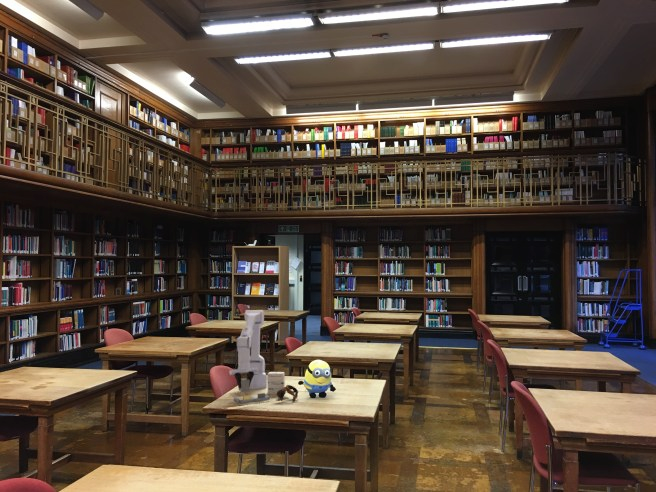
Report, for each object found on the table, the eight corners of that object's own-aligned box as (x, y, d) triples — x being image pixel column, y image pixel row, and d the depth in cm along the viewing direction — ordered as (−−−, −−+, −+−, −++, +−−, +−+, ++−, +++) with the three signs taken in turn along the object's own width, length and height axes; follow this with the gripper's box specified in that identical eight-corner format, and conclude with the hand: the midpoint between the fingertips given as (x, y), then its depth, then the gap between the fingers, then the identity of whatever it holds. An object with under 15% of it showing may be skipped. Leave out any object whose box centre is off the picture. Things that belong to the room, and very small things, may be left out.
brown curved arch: (284, 397, 262) (292, 383, 262) (295, 408, 256) (303, 394, 256) (269, 395, 253) (277, 382, 253) (280, 407, 247) (288, 393, 246)
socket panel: (264, 397, 259) (264, 393, 259) (269, 401, 251) (269, 396, 252) (233, 401, 251) (233, 397, 251) (238, 405, 244) (238, 400, 244)
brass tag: (250, 398, 248) (250, 394, 248) (250, 399, 247) (250, 395, 247) (243, 399, 246) (243, 395, 246) (243, 400, 245) (243, 396, 245)
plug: (246, 388, 254) (246, 377, 254) (249, 391, 250) (249, 379, 250) (238, 389, 252) (238, 378, 252) (241, 392, 248) (241, 380, 248)
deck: (244, 393, 267) (244, 391, 267) (248, 397, 260) (248, 395, 260) (229, 395, 263) (229, 393, 263) (233, 399, 256) (233, 397, 256)
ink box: (285, 393, 267) (285, 371, 267) (283, 396, 262) (283, 373, 262) (269, 393, 267) (269, 371, 268) (267, 395, 263) (267, 373, 263)
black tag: (264, 396, 251) (264, 392, 251) (265, 397, 251) (265, 393, 251) (257, 397, 250) (257, 393, 250) (258, 398, 249) (258, 394, 249)
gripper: (232, 363, 244) (232, 391, 244) (260, 360, 251) (260, 387, 251) (228, 360, 251) (228, 388, 250) (255, 358, 257) (255, 384, 257)
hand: (244, 387), depth 251 cm, fingers closed on plug, 4 cm apart
